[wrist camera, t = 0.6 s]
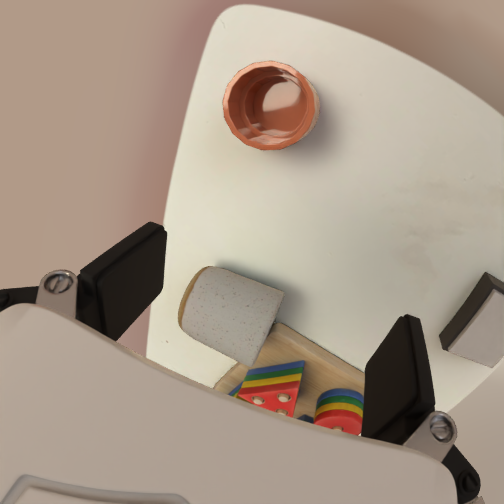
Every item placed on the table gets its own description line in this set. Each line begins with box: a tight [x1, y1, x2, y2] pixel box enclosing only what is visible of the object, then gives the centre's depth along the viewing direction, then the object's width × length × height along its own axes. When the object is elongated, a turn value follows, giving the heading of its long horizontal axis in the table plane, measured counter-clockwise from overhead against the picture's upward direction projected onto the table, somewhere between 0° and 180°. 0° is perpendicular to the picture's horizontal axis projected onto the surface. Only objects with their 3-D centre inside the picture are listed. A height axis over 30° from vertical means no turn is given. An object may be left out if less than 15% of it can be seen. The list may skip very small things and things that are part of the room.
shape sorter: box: [213, 323, 365, 436], centre depth 33 cm, size 18×17×6 cm
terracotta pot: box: [223, 61, 320, 150], centre depth 19 cm, size 6×6×5 cm
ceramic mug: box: [178, 266, 285, 367], centre depth 28 cm, size 11×8×8 cm
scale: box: [439, 272, 504, 368], centre depth 22 cm, size 9×9×3 cm
